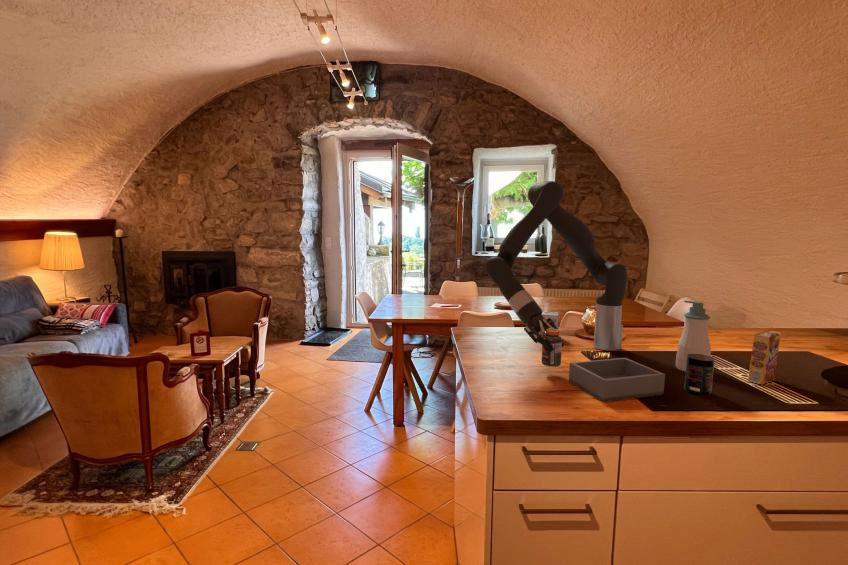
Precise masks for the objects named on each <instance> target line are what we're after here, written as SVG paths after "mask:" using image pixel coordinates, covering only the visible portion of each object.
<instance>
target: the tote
mask: <svg viewBox="0 0 848 565" xmlns="http://www.w3.org/2000/svg"><path fill="white" fill-rule="evenodd" d="M568 370H569V371H568V373H569V374H568V382H569V383H571V384H572V385H574V386H575V387H577V388H579V389H580V390H582V391H584V392H585V393H587V394H589V395H591V396H592V397H594V398H596V399H598V400H599V401H601V402H603V403H604V402H605V403H607V402H613V401H622V400H629V399H630V400H631V399H639V398H648V397H654V396H655V395H656V396H663V395H662V394H664V393H665V380H666V374H665V373H663V372H660V371H658V370H655V369H654V368H652V367H649V366H646V365H644V364H641V363H640V362H637V361H635V360H632V359H629V358H628V357H615V358H608V359H607V358H605V359H598V360H597V359H596V360H595V359H593V360H586V361H573V362H569V368H568Z"/></svg>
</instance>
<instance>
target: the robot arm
mask: <svg viewBox="0 0 848 565" xmlns="http://www.w3.org/2000/svg"><path fill="white" fill-rule="evenodd" d="M527 196H528V200H529V203H530V204H531V205H532V207H531V209H529V212H527V214H525V215H524V217H522V219H520V220H519V221H518V222H517V223H516V224H515V225H514V226H513V227H512V228H511V229H510V230H509V232H508V233H507V235H506V236H505V237H504V239H503V241H502V242H501V244H500V245H499V250H498V253H497V255H496V256H490V257H489V258H488V259H487V260H486V261H485V266H484V268H485V272H486V274H487V276H488V277H489V279H490V280H492V281H493V282H494V284H496V286H497V287H498V288H499V290H500V292H501V294H502V296H503V297H504V298H505V300H506V302H507V303H508V304H509V306H510V308H511V310H513V312H514V313H515V314H516V316H517V318H518V319H519V320H520V321H521V323H522V324H523V325H525V327H523V330H524V332H525V333H526V334H527V335H528V336H529V337H530V338H531V340H532V341H533V342H534V343H535V344H538V343H539V344H540V345H541V346H542V345H543V347H544V348H545V349H546V351H547V352H548V353H550V352H552V351H553V350H554V348H553V346H552V345H551V344H550V342H549V341H548V340H546V336H545V335H546V329H550V328H552V329H553V328H554V329H558V330H559V328H557V327H556V325H555V324H554V322H553V321H552V319H551V318H548V319H545V318H544V317H542V312H544V310H543V309H542V308H541V307H540V305H539V304H538V303H537V301H536V300H535V299H534V298H533V297H532V295H531V294H530V293H529V292H528V291H527V290H526V288H525V287H524V286H523V285H522V283H521V282H520V281H519V280H518V278H516V276H515V274H514V273H513V271H512V268H513V266H514V264H515V262H516V260H517V257H518V256H519V255H520V253H521V252H522V250H523V249H524V247H525V246H526V244H527V243H528V241H529V240H530V239H531V237H532V236H533V235H534V233H535V232H536V231H537V229H538V228H540V226H541V224H542V223H543V222H544V221H545V220H547V221H548V222H549V224H550V225H551V226H552V228H553V229H554V230H555V231H556V233H557V234H558V235H560V237H561V238H562V239H563V241H564V242H565V244H566V245H567V246H568V247H569V248H570V249H571V250H572V252H573V253H574V254H575V255H576V256H577V258H579V260H580V261H581V262H582V263H583V265H584V266H585V268H586V269H587V271H588V273H589V274H590V275H591V277H592V278H593V280H594V282H596V283H597V284H599V285H600V286H604V287H605V288H604V293H602V294H599V295H597V296H596V299H595V300H596V303H595V316H594V317H595V319H594V337H593V348H595V349H598V350H602V351H608V352H609V351H611V352H612V351H614V352H615V351H619V350H621V349H623V348H622V346H623V330H624V325H623V323H622V311H623V301H624V299H625V297H626V292H627V283H628V282H627V281H628V271H627V268H626V267H625V265H623V264H622V263H619V262H613V261H612V262H610V261H607V260H606V259H605V258H603V256H602V255H601V254H600V253H599V251H598V250H597V246H596V245H597V243H596V238H595V236H594V234H593V232H592V231H591V230H590V228H589V227H588V226H587V225H586V223H584V221H583V220H581V219H580V218H579V217H577V216H576V215H574V214H572V213H571V212H570V211H568V210H566V209H565V208H564V207H563V206H562V205H561V204H560V203H561V202H562V200H563V197H564V188H563V186H562V185H561V184H560V183H559V182H557V181H552V180H550V181H549V180H548V181H539V182H536V183H533V184H532V185H531V186H530V187H529V189H528V192H527ZM534 335H535V337H536V338H535V337H534ZM541 336H542V337H541ZM564 346H565V343H564V342H563V341H562V348H563V347H564Z"/></svg>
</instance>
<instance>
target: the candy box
mask: <svg viewBox="0 0 848 565" xmlns="http://www.w3.org/2000/svg"><path fill="white" fill-rule="evenodd" d="M781 335H782V333H781V332H778V331H771V330H764V331H759V332H758V333H757V332H756V333H754V337H753V341H752V342H753V343H752V349H751V355H750V356H751V357H750V362H749V370H748V377H747V382H748V381H749V382H748V383H751V382H753V383H752V384H755V383H757V384H756V385H758V384H761V385H760V386H764V385H766V384H768V383H767V382H769V383H770V381H771V382H773V381H775V376H776V369H777V364H778V363H777V362H778V357H779V356H778V355H779V350H780V342H781ZM772 380H773V381H772ZM765 383H766V384H765ZM763 384H764V385H763Z"/></svg>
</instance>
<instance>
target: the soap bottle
mask: <svg viewBox="0 0 848 565" xmlns="http://www.w3.org/2000/svg"><path fill="white" fill-rule="evenodd" d="M684 303H689V304H692V306H690V307H689V311H687V312H685V313H684V314H683V317H684V326H683V330H682V334H681V335H680V339H679V341H678V344H677V349H676V356H675V367H676V369H678V370H679V371H681V372H683V371H684V372H683V373H686V364H687V355H688V354H702V355H707V356H710V357H712V355H711V353H712V349H711V348H712V346H711V341H710V337H709V330H708V329H709V328H708V326H709V320H710V319H711V316H710V315H709V314H707V313H706V310H707V308H704V302H703V301H696V300H694V301H692V300H684Z"/></svg>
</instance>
